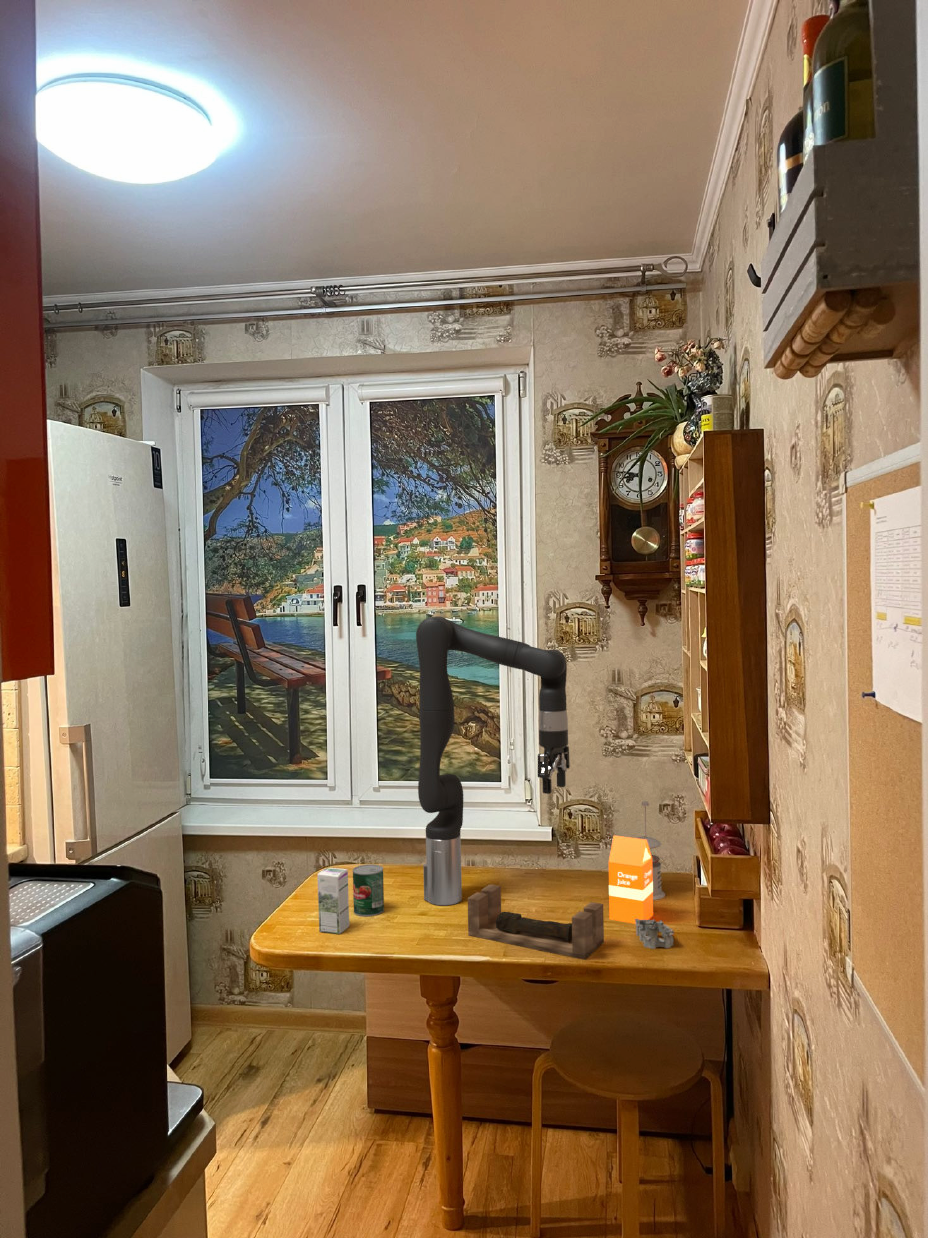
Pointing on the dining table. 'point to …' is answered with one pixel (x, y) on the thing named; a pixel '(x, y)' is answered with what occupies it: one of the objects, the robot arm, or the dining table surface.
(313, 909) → the dining table surface
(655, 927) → the egg carton
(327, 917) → the syrup box
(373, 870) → the canned tomato
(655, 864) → the french press
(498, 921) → the hand tool
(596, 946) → the cradle
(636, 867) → the orange juice
